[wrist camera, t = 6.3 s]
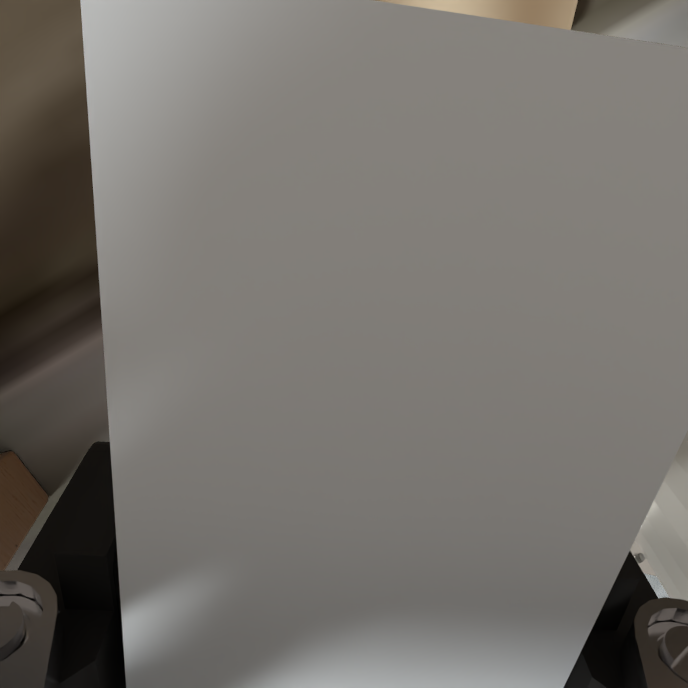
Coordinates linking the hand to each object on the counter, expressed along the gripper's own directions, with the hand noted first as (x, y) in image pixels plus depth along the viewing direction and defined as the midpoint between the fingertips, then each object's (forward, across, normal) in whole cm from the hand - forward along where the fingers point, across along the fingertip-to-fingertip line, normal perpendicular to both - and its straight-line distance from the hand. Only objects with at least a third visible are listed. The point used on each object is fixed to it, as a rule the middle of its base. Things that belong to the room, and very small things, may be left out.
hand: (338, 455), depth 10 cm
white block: (+1, 0, 0) cm, 1 cm away
